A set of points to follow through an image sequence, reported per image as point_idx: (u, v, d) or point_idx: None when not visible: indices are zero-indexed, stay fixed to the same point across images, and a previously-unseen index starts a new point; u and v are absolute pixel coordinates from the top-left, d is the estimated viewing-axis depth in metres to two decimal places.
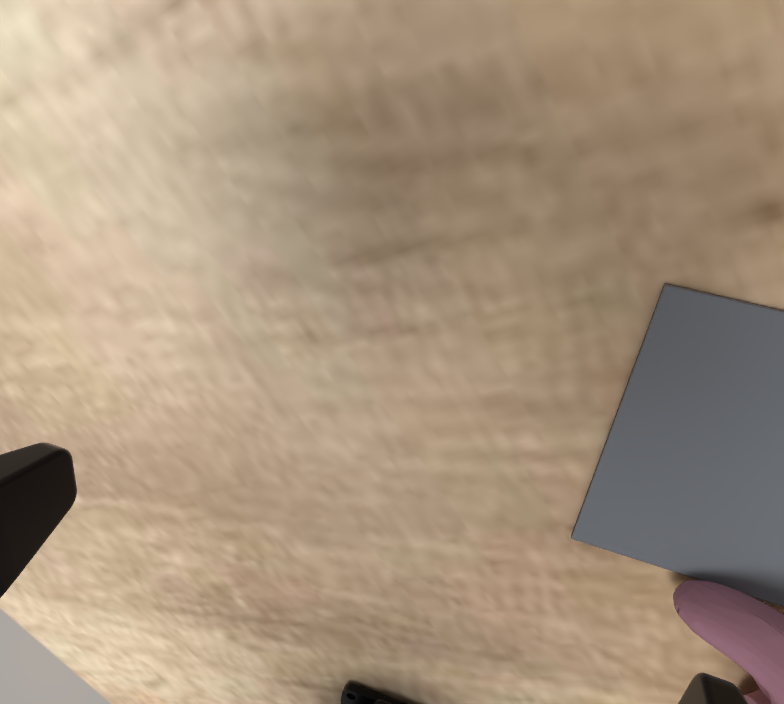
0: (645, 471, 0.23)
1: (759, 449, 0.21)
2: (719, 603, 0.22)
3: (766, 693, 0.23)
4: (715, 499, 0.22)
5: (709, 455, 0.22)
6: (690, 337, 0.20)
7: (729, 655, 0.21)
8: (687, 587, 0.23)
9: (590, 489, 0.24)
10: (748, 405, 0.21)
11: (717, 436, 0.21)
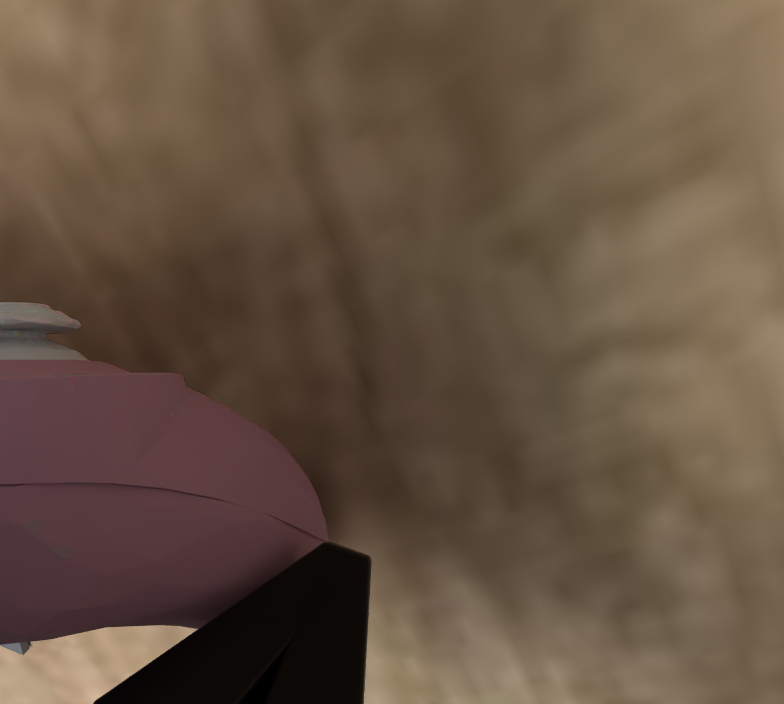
0: None
1: None
2: None
3: None
4: None
5: None
6: None
7: None
8: None
9: None
10: None
11: None
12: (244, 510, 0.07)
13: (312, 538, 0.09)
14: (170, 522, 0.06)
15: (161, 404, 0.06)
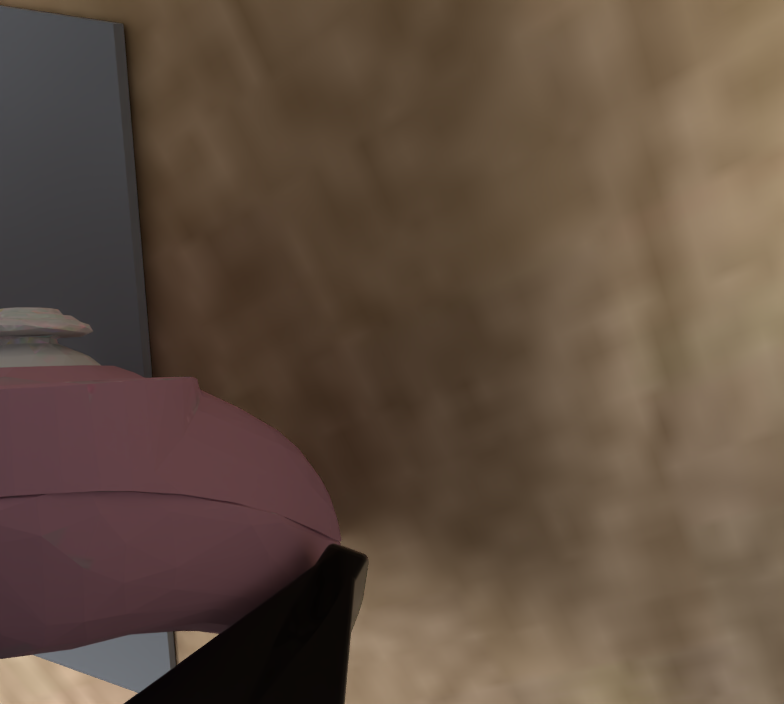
0: None
1: None
2: None
3: None
4: None
5: None
6: None
7: None
8: None
9: (76, 669, 0.15)
10: None
11: None
12: (261, 513, 0.07)
13: (326, 538, 0.09)
14: (190, 527, 0.06)
15: (177, 409, 0.06)
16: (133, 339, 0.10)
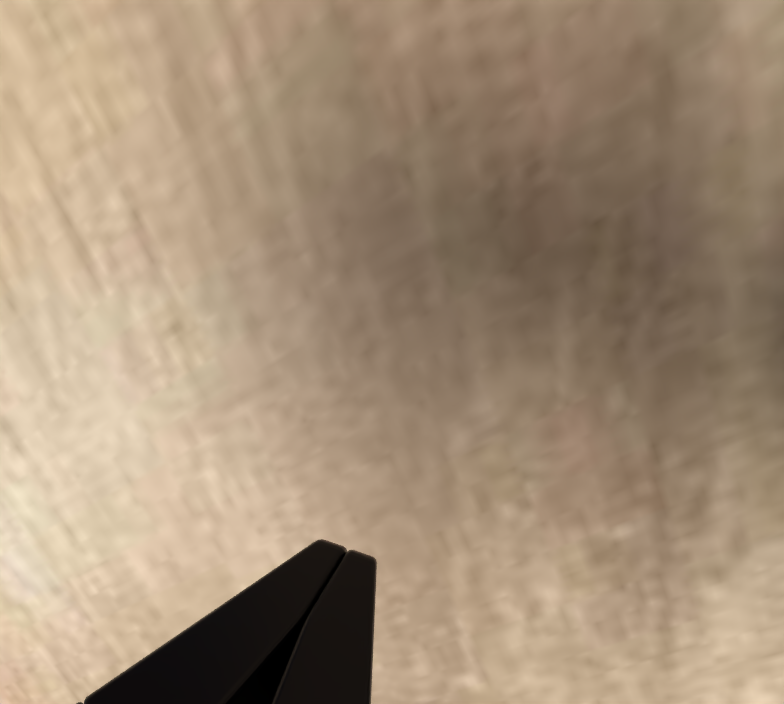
0: None
1: None
2: None
3: None
4: None
5: None
6: None
7: None
8: None
9: None
10: None
11: None
12: None
13: None
14: None
15: None
16: None
